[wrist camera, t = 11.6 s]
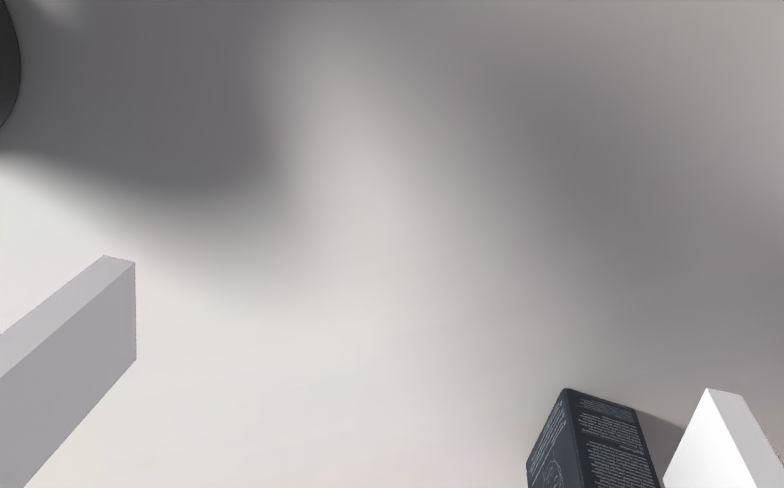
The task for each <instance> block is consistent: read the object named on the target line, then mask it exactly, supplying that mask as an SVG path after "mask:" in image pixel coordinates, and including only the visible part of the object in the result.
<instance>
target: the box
mask: <svg viewBox="0 0 784 488" xmlns="http://www.w3.org/2000/svg"><path fill="white" fill-rule="evenodd" d="M526 470H527V480H528V488H661V487H660V484H659V481H658V478H657V475H656V472H655V469H654V466H653V463H652V460H651V457H650V454H649V451H648V448H647V445H646V442H645V440H644V436H643V434H642V430H641V427H640V425H639V422H638V419H637V416H636V413H635V411H634V410H632V409H630V408H627V407H624V406H621V405H617V404H614V403H611V402H607V401H604V400H601V399H598V398H595V397H592V396H588V395H585V394H582V393H579V392H576V391H572V390H569V389H563V390H562V392H561V393H560V396H559V397H558V399H557V401H556V404H555V406H554V408H553V410H552V411H551V413H550V415H549V418H548V419H547V422H546V424H545V426H544V428H543V430H542V432H541V434H540V436H539V438H538V440H537V442H536V444H535V446H534V448H533V450H532V452H531V454H530V456H529V458H528V460H527V462H526Z"/></svg>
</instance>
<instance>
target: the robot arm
mask: <svg viewBox="0 0 784 488" xmlns="http://www.w3.org/2000/svg"><path fill="white" fill-rule="evenodd" d="M19 80H20V58H19V50H18V44H17V39H16V35H15V31H14V28H13V25H12V22H11V19H10V17H9V14H8V12H7V9H6V7H5V5H4V3H3V1H2V0H0V126H1V125H2V124H3V123H4V121H5V120H6V119H7V117H8V115H9V114H10V112H11V110H12V108H13V105H14V103H15V100H16V96H17V92H18V87H19ZM135 360H136V295H135V262H132V261H127V260H123V259H118V258H114V257H109V256H104V255H103V256H102V257H101V258H99V259H98V260H97V261H96V262H94V263H93V264H92V265H90V266H89V267H88V268H86V269H85V270H84V271H83V272H81V273H80V274H79V275H77V276H76V277H75V278H73V279H72V280H71V281H70V282H68V283H67V284H66V285H64V286H63V287H62V288H60V289H59V290H58V291H57V292H55V293H54V294H53V295H51V296H50V297H49V298H48V299H46V300H45V301H44V302H42V303H41V304H40V305H38V306H37V307H36V308H35V309H33V310H32V311H31V312H29V313H28V314H27V315H25V316H24V317H23V318H22V319H20V320H19V321H18V322H16V323H15V324H14V325H13V326H11V327H10V328H9V329H7V330H6V331H5V332H3V333H2V334H1V335H0V488H23V487H24V486H25V485H26V484H27V483H28V482H29V480H30V479H31V478H32V477H33V476H34V475H35V474H36V472H37V471H38V470H39V469H40V468H41V467H42V466H43V464H44V463H45V462H46V461H47V460H48V459H49V458H50V457H51V455H52V454H53V453H54V452H55V451H56V450H57V449H58V447H59V446H60V445H61V444H62V443H63V442H64V441H65V439H66V438H67V437H68V436H69V435H70V434H71V433H72V432H73V430H74V429H75V428H76V427H77V426H78V425H79V424H80V422H81V421H82V420H83V419H84V418H85V417H86V416H87V414H88V413H89V412H90V411H91V410H92V409H93V408H94V406H95V405H96V404H97V403H98V402H99V401H100V400H101V399H102V397H103V396H104V395H105V394H106V393H107V392H108V391H109V389H110V388H111V387H112V386H113V385H114V384H115V383H116V381H117V380H118V379H119V378H120V377H121V376H122V375H123V374H124V372H125V371H126V370H127V369H128V368H129V367H130V366H131V364H132V363H133V362H134V361H135ZM663 482H664V485H665V488H784V468H783V466H782V464H781V463H780V461H779V459H778V457H777V456H776V454H775V452H774V450H773V449H772V447H771V445H770V444H769V442H768V440H767V438H766V437H765V435H764V433H763V431H762V430H761V428H760V426H759V424H758V423H757V421H756V419H755V418H754V416H753V414H752V412H751V411H750V409H749V407H748V405H747V404H746V402H745V400H744V399H743V397H742V395H738V394H734V393H729V392H725V391H720V390H716V389H711V388H706V389H705V391H704V393H703V396H702V398H701V400H700V402H699V404H698V406H697V408H696V410H695V412H694V414H693V416H692V419H691V421H690V423H689V425H688V427H687V429H686V431H685V433H684V435H683V437H682V439H681V442H680V444H679V446H678V448H677V450H676V452H675V454H674V456H673V458H672V460H671V462H670V465H669V467H668V469H667V471H666V473H665V475H664V477H663Z"/></svg>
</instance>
